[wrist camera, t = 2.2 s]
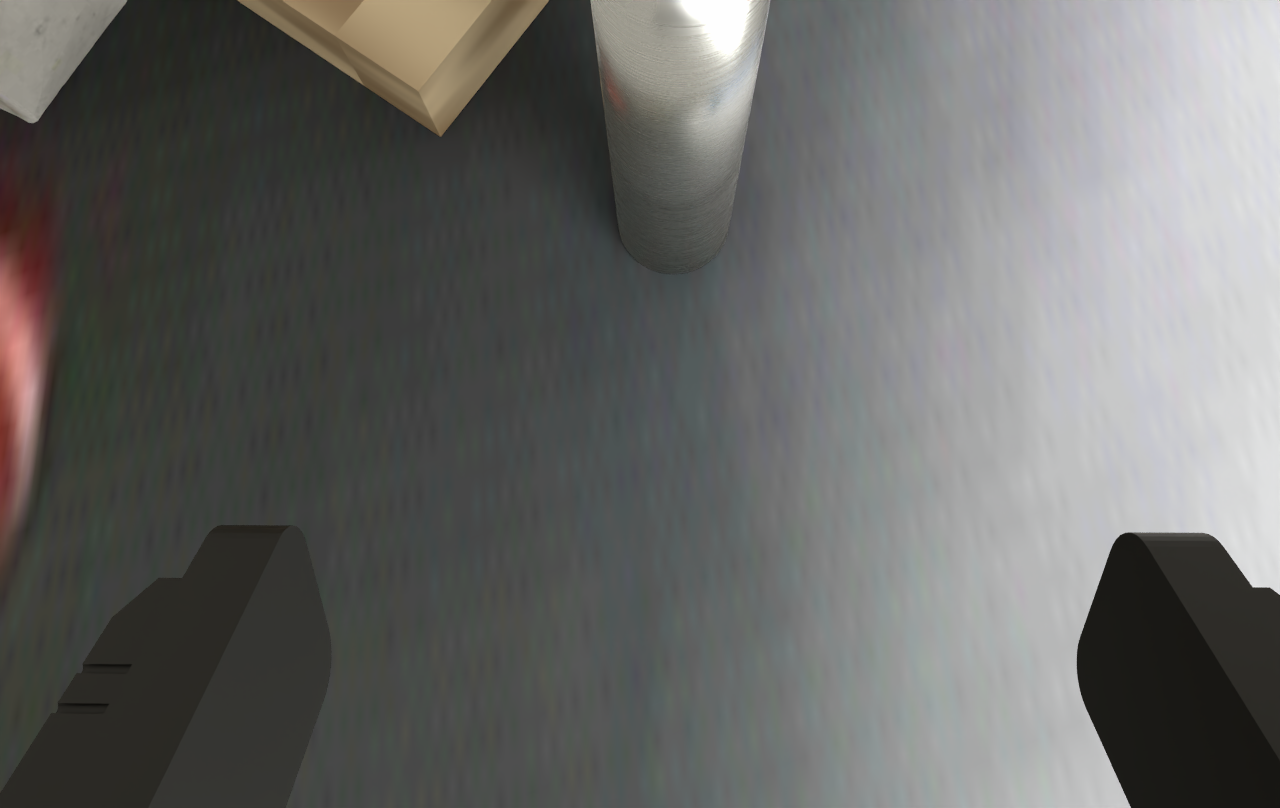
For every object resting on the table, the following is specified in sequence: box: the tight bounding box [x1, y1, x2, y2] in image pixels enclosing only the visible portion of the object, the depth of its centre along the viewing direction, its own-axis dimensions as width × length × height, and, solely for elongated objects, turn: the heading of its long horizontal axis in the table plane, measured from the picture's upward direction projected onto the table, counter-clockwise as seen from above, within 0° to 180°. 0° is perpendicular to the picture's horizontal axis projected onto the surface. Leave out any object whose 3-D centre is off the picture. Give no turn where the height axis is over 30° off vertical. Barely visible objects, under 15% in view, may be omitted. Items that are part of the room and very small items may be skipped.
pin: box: [591, 0, 771, 274], centre depth 24 cm, size 4×4×14 cm
